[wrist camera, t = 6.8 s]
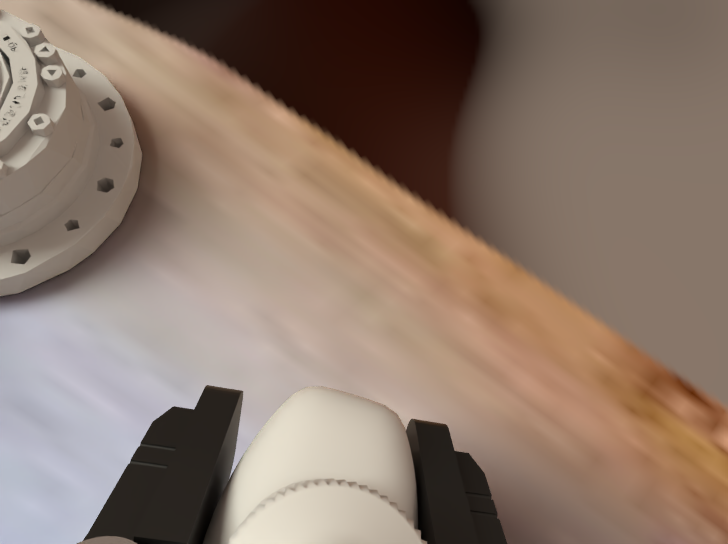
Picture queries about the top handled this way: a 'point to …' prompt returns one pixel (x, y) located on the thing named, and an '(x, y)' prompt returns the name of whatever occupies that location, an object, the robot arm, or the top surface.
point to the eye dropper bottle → (322, 477)
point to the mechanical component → (57, 157)
